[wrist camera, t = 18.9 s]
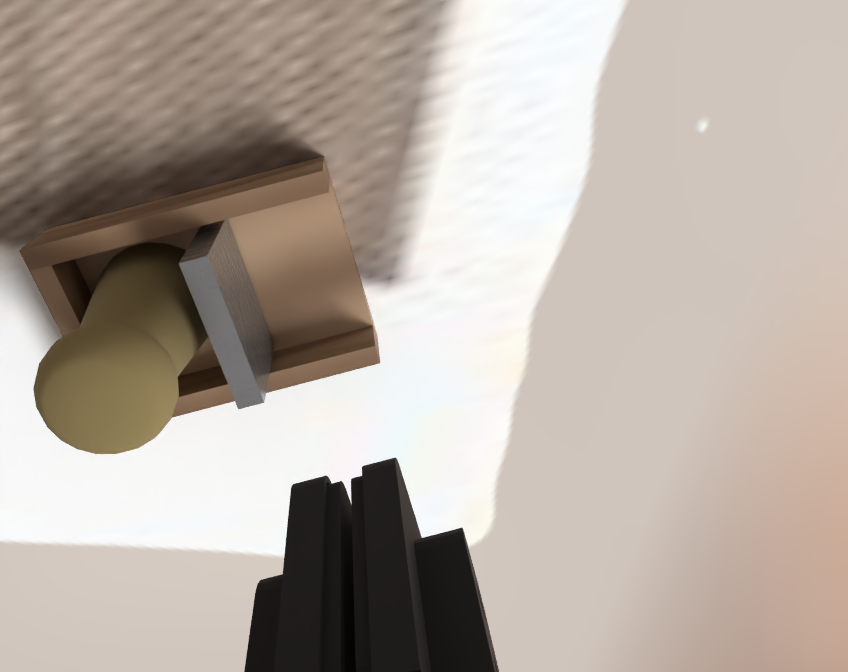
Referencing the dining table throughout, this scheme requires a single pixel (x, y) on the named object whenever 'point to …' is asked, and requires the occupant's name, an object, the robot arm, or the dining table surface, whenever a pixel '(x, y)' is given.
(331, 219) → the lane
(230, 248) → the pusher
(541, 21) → the dining table surface
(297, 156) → the dining table surface
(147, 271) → the cork
